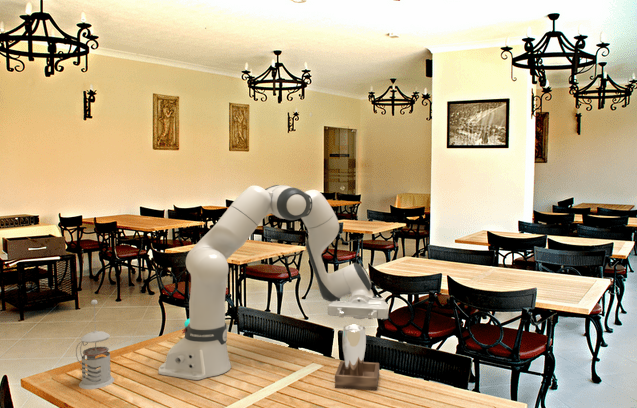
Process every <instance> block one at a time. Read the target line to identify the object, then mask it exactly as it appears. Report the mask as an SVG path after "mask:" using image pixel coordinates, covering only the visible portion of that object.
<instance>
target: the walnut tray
mask: <svg viewBox="0 0 637 408" xmlns="http://www.w3.org/2000/svg"><path fill="white" fill-rule="evenodd" d="M344 371H345V360H340V361H339V365H338V367H337V369H336V372H335V375H334V388H335V389H348V390H365V391H376V392H377V391H378V387H379V386H378V385H379V378H380V363H379V362H369V361H363V372H364V376H351V375H344Z"/></svg>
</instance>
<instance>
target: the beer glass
mask: <svg viewBox="0 0 637 408" xmlns="http://www.w3.org/2000/svg"><path fill="white" fill-rule="evenodd" d="M342 328H343V329H342V330H343V331H342V352H343V359H344V361H345V371H344V375H351V376H364V372H363V362H364V358H365V352H366V348H367V345H366V344H367V333H366V326H364V325H361V324H352V323H351V324H347V325H344V326H343V327H342Z"/></svg>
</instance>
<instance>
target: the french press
mask: <svg viewBox="0 0 637 408" xmlns="http://www.w3.org/2000/svg"><path fill="white" fill-rule="evenodd" d="M97 304H98V300H97V299H92V300H91V302H90V305H93V308H94V311H93V312H94V313H93V314H94V315H93V317H94V321H96V305H97ZM96 326H97V325H94V331H91V332H88V333H85V334H84V335H83V336H82V337H80V339H79V340H80V342H78V344H77V345H76V348H75V356H76V360H77V362H78V363H79V364H80V365H81V377H82V379H81V381H80V382H79V384H78V386H79V388H81V389H83V390H94V389H101V388H104V387H106V386H107V387H108V386H110V385H111V384H113V383H114V382H115V378H114V377H113V376H112V375H111V373H112V372H111V353H110V352H109V350H110V348H109V347H108V346H97V343H100V342H103V341H106V340H109V338H110V337H111V334H109V333H107V332H105V331H102V330H101V331H100V330H99V331H98V330H96ZM84 343H85V344H84ZM88 343H89V344H93V343H94V346H93V347H88V348H86V349H84V350H83V351H82V346H84V347H85V346H87V345H88ZM79 345H80V347H79ZM78 347H79V354H80V356H81V362H80V360H79V358H78ZM82 354H83V355H82ZM101 355H104V356H101Z"/></svg>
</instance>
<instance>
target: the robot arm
mask: <svg viewBox="0 0 637 408" xmlns="http://www.w3.org/2000/svg"><path fill="white" fill-rule="evenodd" d="M268 215H272V216H275V217H277V218H279V219H283V220H284V219H285V220H287V221H295V220H299V219H301V220H302V222H303V224H304V226H305V227H306V229H307V233H308V238H307V239H306V241H305V246H306V247H305V248H306V251H307V255H308V258H309V261H310V264H311V266H312V271H313V273H314V275H315V279H316V281H317V285H318V291H319V293H320V296H321V297H322V298H323V300H325V301H327V302H329V303H328V305H327V315H328V316H332V317H339V318H344V317H346V318H350V317H351V318H353V319H356V320H364V319H368V320H374V319H378V320H379V319H380V320H387V319H389V305H388V302H386V298H384V297H380V296H375V294H374V292H373V290H372V289H371V288H372V285H373V284H372V279H371V278H370V275H369V273H368V271H367V270H366V268H365V267H364V266H363V265H361V264H359V263H356V262H353V263H352V264H351V263H350V264H349V265H346V266H344V267H343V268H340V269H337V270H336V271H333V272H331V273H330V272H327V271H326V267H325V264H324V261H323V258H322V254H323V253H324V251H325V250H326V249H327V248H328V246H330V245H331V243H333V241H334V240H335V239H336V237H337V236H338V234H339V231H340V223H339V219H338V217H337V215H336V213H335V211H334V210H333V208H332V206H331V205H330V203H329V202H328V200H327V199H326V197H325V196H324V194H322V192H321V191H319V190H317V189H309V190H306V191H303V190H302V189H299V188H297V187H292V186H290V185H286V184H285V185H284V184H281V185H280V184H275V185H271V186H269V187H267V188H264V187H262V186H260V185H250V186H248V187H246V189H245V190H243V192H241V193H240V194H239V195H237V197H236V199H234V201H233V202H232V203H231V204H230V206H229V207H227V209H226V211H225V212H224V213H223V214H222V216H221V217H220V218H219V219H218V221H217V222H216V223H215V224H214V225H213V227H211V229H210V230H209V231H208V232H207V233H206V234H204V236H202V237H201V239H200V240H199V241H198V242H197V243H196V244H195V245H194V246H193V247H192V248H191V249H190V250H189V251H188V253H187V255H186V257H185V267H186V270H187V271H188V273H189V274H190V293H189V301H188V307H189V309H188V310H189V314H188V315H189V316H188V317H189V318H190V323H189V324H188V326H187V327H185V326H184V328H183V330H182V333H181V334H182V335H183V334H184V337H183V338H181V339H180V340H179V341H177V342H176V343H175V344H174V345H173V346H172V347H170V349H169V350H168V351H167V353H166V354H167V355H166V358H165V362H163V363H162V364H161V365H160V366H159V367H158V374H159V375H163V376H169V377H175V378H180V379H186V380H187V379H188V380H194V381H200V380H203V379H206V378H210V377H216V376H219V375H223V374H225V373H226V372H229V370H231V369H232V364H231V360H230V358H229V353H228V348H227V347H228V346H227V341H228V328H227V327H228V326H227V322H226V305H225V303H226V292H227V285H228V274H229V263H228V259H229V258H230V257H231V256H232V255H233V254H234V253H235V252H236V251H238V250H239V249H241V248H242V247H243V246H244V245H245V244H246V242H247V241H248V239H250V237H251V235H252V234H253V233H254V232H255V230H256V229H257V228H258V226H259V225H260V223H261V222H262V220H263V219H265V218H266V217H267V216H268ZM348 295H350V296H349V298H348V300H347V301H345V300H343V301H342V300H340V299H342V298H343V297H346V296H348Z"/></svg>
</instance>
